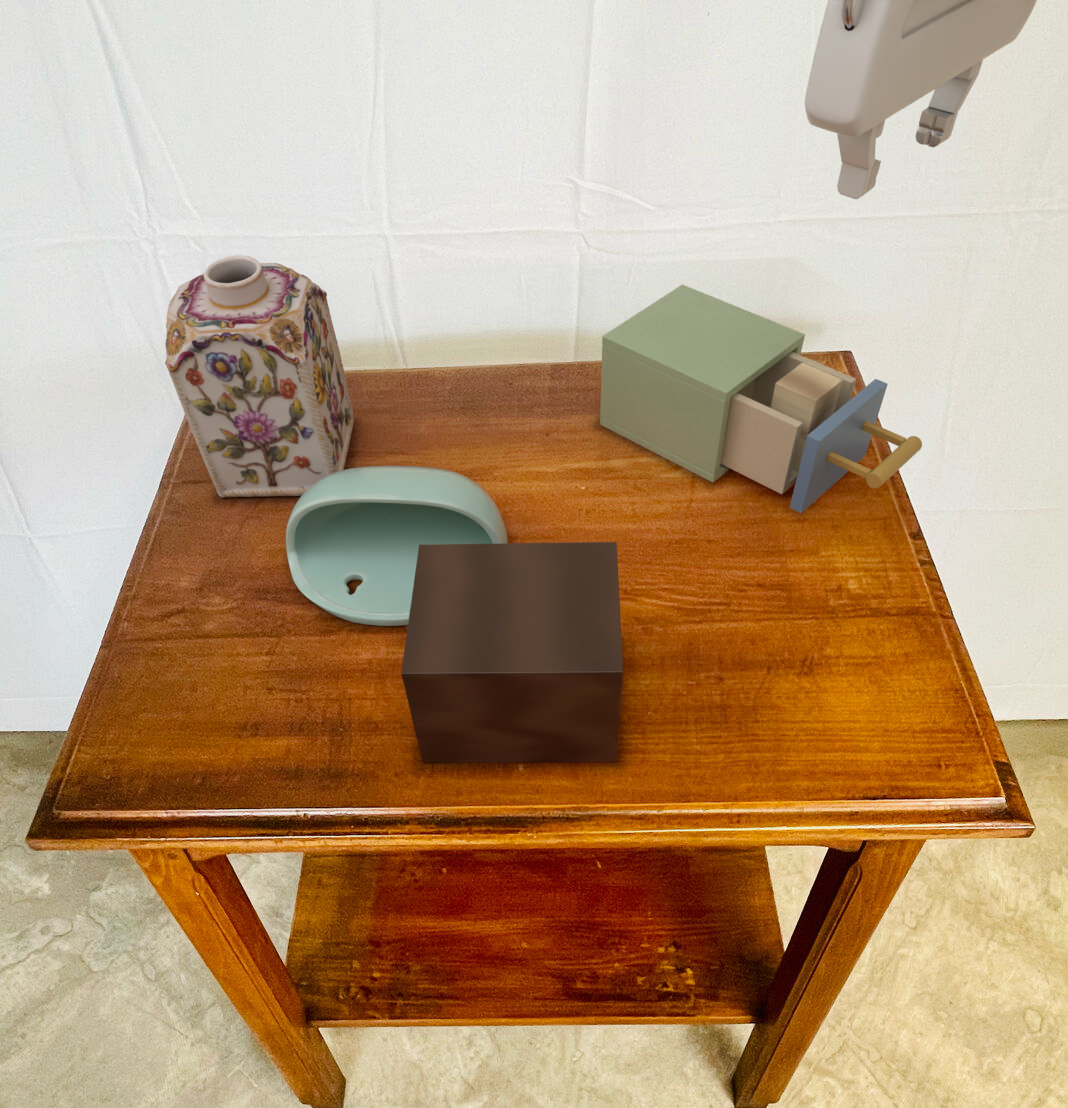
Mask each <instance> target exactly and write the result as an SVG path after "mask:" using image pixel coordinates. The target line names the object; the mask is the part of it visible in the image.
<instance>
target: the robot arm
mask: <svg viewBox="0 0 1068 1108" xmlns="http://www.w3.org/2000/svg"><path fill="white" fill-rule="evenodd" d="M1037 1H1038V0H827V3H826V6H825V7H826V8H825V10H824V14H823V18H822V23H821V26H820V29H819V33H818V38H817V43H816V46H815V50H814V55H813V58H812V64H811V67H810V72H809V76H808V81H807V85H806V90H805V95H804V96H805V97H804V110H805V115H806V118H807V121H808V123H809V124H810V125H811V126H813V127H816V128H818V129H819V128H820V129H822V130H824V131H828V132H831V133H835V134H837V140H838V148H839V153H840V160H841V162H842V163H841V166H840V171H839V175H838V181H837V184H836V187H837V192H838V193H839V194H840V196H845V197H847V198H850V199H854V200H859V199H860V198H862V197H863V196H865V195H866V194H868V193H869V192H871V191H872V190H873V189H874V188H875V186H876V183H877V176H878V174H879V171H880V167H881V162H882V161H881V160H879V159H877V158H876V146H877V145H876V143H877V142H876V141H877V139H878V138H879V137H881V136H882V134H883V130H884V127H885V122H886V120H887V119H889V118H891V117H892V116H894V115H895V114H897V113H899V112H900V111H902V110H904V109H906V108H907V107H908V106H911V104H913V103H915V102H916V101H918V100H920V99H922V98H923V97H925V96H926V95H928V94H930V93H931V92H933V93H932V96H931V98H930V101H929V103H928V107H926V108H925V109H924V110H922V111H921V114H920V118H919V121H918V127H917V130H916V132H915V140H916V142H917V143H918V144H919V145H923V146H925V145H926V146H928V147H929V148H935V147H938V146H939V145H942V143H944V142H945V141H947V140H949V139H950V137H951V136H952V134H953V130H954V126H955V124H956V120H957V118H958V117H957V116H958V113H959V111H960V110H961V108H962V106H963V104H964V102H965V101H966V99H967V97H968V95H969V93H970V91H971V90H972V88H973V85H974V84H975V82H976V80H977V78H978V76H979V75H980V71H981V68H982V64H983V62H984V59H986V58H988V57H989V56H991V55H993V54H995V53H996V52H998V51H1000V50H1001V49H1002V48H1005V46H1008V45H1009V44H1011V43H1013V42H1014V41H1015V40H1016V39H1017V38H1018V36H1019V35H1020V33H1021V32H1022V30H1023V29H1024V26H1025V25H1026V23H1027V21H1028V20H1029V18H1030V16H1031V15H1032V12H1033V10H1034V8H1035V6H1036V4H1037Z"/></svg>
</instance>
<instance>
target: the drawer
mask: <svg viewBox="0 0 1068 1108" xmlns="http://www.w3.org/2000/svg"><path fill="white" fill-rule="evenodd" d="M801 363H804V364H807V365H809V366H811V367H814V368H816V369H818V370H821V371H823V372H825V373H828V374H830V375H833V376H835V377H837V378H840V379H842V384H841V387H840V391H839V395H838V399H837V402H836V406H835V410H834V414H833V415H831V416H830V417H829V418H828V419H826V420H825V421H824V422H823V423H822V424H820V425H819V426H818V427H817V428H816V429H814V430H813V431H812V432H811V433H810V434H808V435H807V439H806V443H805V447H804V451H803V455H802V459H801V463H800V467H799V471H796V470H794V469H792V467H793V462H794V458H795V454H796V450H797V445H798V441H799V437H800V433H801V429H802V424H803V423H802V422H800V421H798V420H796V419H793V418H791V417H789V416H787V415H785V414H782V413H780V412H778V411H776V410H774V409H772V408H771V403H772V398H773V393H774V388H775V383H776V382H778V381H779V380H780V379H781V378H783V377H784V376H785V375H787V374H788V373H789V372H791V371H792V370H793V369H795V368H796V367H797V366H798V365H800V364H801ZM856 382H857V378H856V377H853V376H851V375H848V374H846V373H843V372H842V371H839V370H837V369H835V368H832V367H830V366H827V365H825V364H822V363H820V362H818V361H815V360H813V359H810V358H808V357H806V356H803V355H802V354H801V355H799V354H796V353H794V352H792V351H791V352H790V353H789V354H787V355H786V356H785V357H784V358H782V359H781V360H780V361H778V362H777V363H776V364H774V365H773V366H772V367H770V368H769V369H768V370H766V371H765V372H764V373H762V374H761V375H760V376H758V377H757V378H756V379H754V380H753V381H752V382H750V383H749V384H748V385H746V386H745V387H744V388H742V389H741V390H740V391H738V392H737V393H736V394H735V395H733V396H732V397H731V399H730V405H729V412H728V418H727V424H726V431H725V437H724V443H723V450H722V456H721V462H720V464H722V465H724V466H726V467H728V468H730V469H729V470H732V471H733V472H737V473H739V474H740V475H743V476H744V477H746V478H747V479H750V480H752V481H754V482H757V483H758V484H760V485H762V486H764V487H766V488H768V489H770V490H772V491H774V492H776V493H778V494H780V495H783V494H785V492H786V491H788V490H789V489H790V488H791V487H793V486H794V488H793V492H792V497H791V500H790V504H789V508H790V509H791V510H793V511H795V512H797V513H799V514H802V513H804V512H805V511H806V510H807V509H808V508H809V507H810V506H811V505H812V504H814V502H817V500H819V498H820V497H822V495H824V494H825V493H826V492H827V491H828V490H830V489H831V487H833V486H834V485H835V484H836V483H837V482H838V481H839V480H841V479H842V478H843V477H844V476H845V475H846V474H847V473H848V472H850V473H853V474H854V475H857V476H859V477H861V478H863V479H865V482H866V485H867V486H868V487H869V488H871V489H875V490H876V489H879V488H880V487H882V486H883V485H884V484H885V483H886V482H887V481H888V480H889V479H891V477H892V476H893V475H895V474H896V473H897V472H898V471H899V470H900V469H901V468H902V467H903V466H904V465H906V463H908V462H909V460H911V459H912V458H913V457H914V456H915V455H916V454H917V453H918V452H920V451H921V449H922V447H923V442H922V440H921V438H920V437H918V436H916V435H911V436H909V437H905V436H902V435H900V434H898V433H896V432H893V431H891V430H888V429H887V428H884V427H881V426H880V425H877V424H876V423H877V420H878V417H879V413H880V410H881V408H882V407H881V406H882V404H883V401H884V397H885V394H886V391H887V388H888V385H889V384H888V383H887V382H885V381H882V380H880V379H877V378H874V379H873V380H872V381H871V382H870V383H869V384H867V385H866V386H865V387H864V388H862V389H861V390H860V391H859V392H858V393H856V394H855V395H854V396H853V393H854V389H855V386H856ZM872 436H875V437H877V438H879V439H882V440H883V441H886V442H888V443H890V444H892V445H895V446H897V448H895V449H894V450H893V451H892V452H891V453H890V454H889V455H888V456H886V457H885V458H884V459H883V460H882V461H881V462H880V463H878V464H877V465H876V466H875V467H874V468H873V469H871V468H869V467H866V466H864V465H863V464H860V462H861V461H862V460H863V459H864V458H865V457H866V455H867V452H868V449H869V445H870V442H871V439H872Z"/></svg>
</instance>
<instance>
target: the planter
mask: <svg viewBox="0 0 1068 1108" xmlns="http://www.w3.org/2000/svg"><path fill="white" fill-rule="evenodd" d="M499 543H509V538H508V532H507V527H506V524H505V521H504V518H503V516H502V513H501V511H500V509H499V507H498V506H497V503H496V502H495V501H494V499H493V498H492V497H491V495H490V494H489V493H488V491H487V490H485V489H484V488H483V487H482V486H481V485H480V484H479V483H477V482H476V481H475V480H473V479H471V478H470V477H467V476H466V475H463V474H461V473H459V472H456V471H452V470H448V469H444V468H438V467H429V466H418V465H417V466H416V465H369V466H358V467H351V468H346V469H344V470H342V471H339V472H336V473H333V474H331V475H328V476H326V477H324V478H322V479H321V480H319V481H318V482H316V483H315V484H313V485H312V486H311V487H310V488H309V489H308V490H307V491H306V492H305V493H304V494H303V495H302V496H299V498H298V499H297V501H296V503H295V505H294V506H293V508H292V510H291V512H290V515H289V517H288V520H287V525H286V530H285V548H286V555H287V562H288V566H289V570H290V574H291V578H292V580H293V583H294V584H295V585H296V587H297V589H298V590H299V591H300V593H302V594H303V596H305V597H306V598H307V599H308V600H309V601H311V602H312V603H313V604H315V605H316V606H317V607H319V608H321V609H322V610H324V612H327V613H329V614H331V615H333V616H334V617H337V618H339V619H343V620H345V621H348V622H351V623H355V624H361V625H369V626H377V627H378V626H379V627H398V626H400V627H401V626H408V621H409V614H410V606H411V599H412V592H413V585H414V578H415V571H416V563H417V556H418V549H419V545H425V544H499ZM355 580H357V581H361V583H360V584H359V585H358V586H357V587H356V588H355V591H354V592H353V593H352V594H350V591H351V590H350V587H349V586H348V584H349V582H352V581H355Z"/></svg>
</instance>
